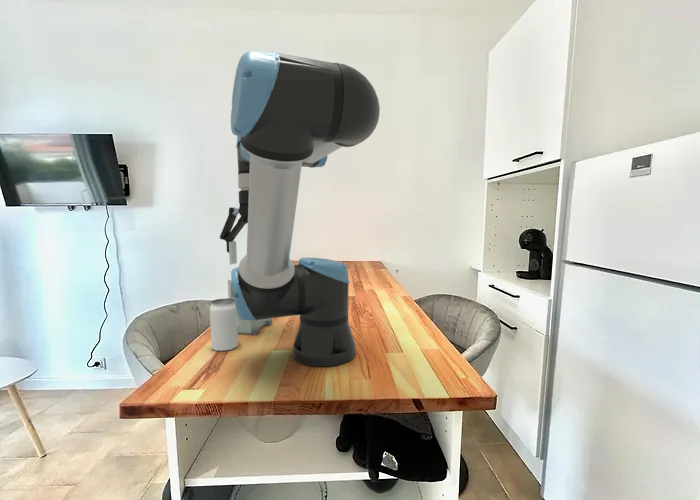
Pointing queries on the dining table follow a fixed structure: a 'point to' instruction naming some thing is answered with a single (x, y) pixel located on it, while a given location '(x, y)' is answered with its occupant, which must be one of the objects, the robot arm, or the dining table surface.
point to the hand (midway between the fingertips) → (254, 264)
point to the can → (223, 324)
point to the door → (249, 325)
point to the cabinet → (231, 295)
